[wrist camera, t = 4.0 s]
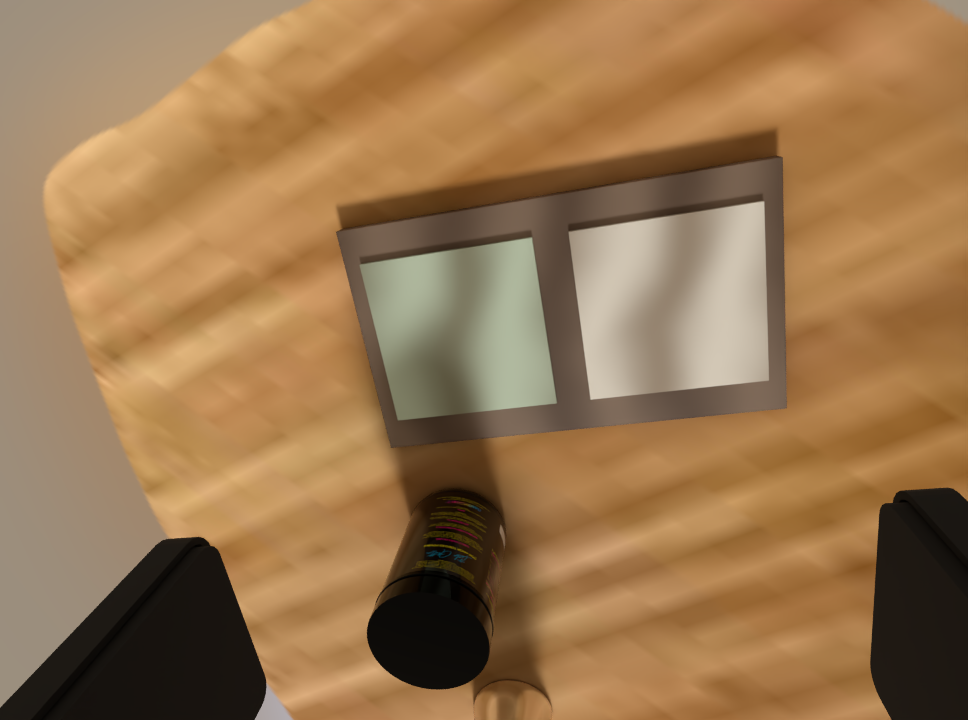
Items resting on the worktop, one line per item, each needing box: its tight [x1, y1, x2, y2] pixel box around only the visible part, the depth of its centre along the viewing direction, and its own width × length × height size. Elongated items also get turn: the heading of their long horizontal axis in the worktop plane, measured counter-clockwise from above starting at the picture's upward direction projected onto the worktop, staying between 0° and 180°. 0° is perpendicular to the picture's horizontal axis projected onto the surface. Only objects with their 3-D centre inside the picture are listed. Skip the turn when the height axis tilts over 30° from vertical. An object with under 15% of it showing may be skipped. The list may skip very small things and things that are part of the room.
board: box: [336, 156, 787, 448], centre depth 36 cm, size 24×14×1 cm, turn 100°
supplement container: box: [367, 489, 506, 689], centre depth 38 cm, size 7×7×10 cm
